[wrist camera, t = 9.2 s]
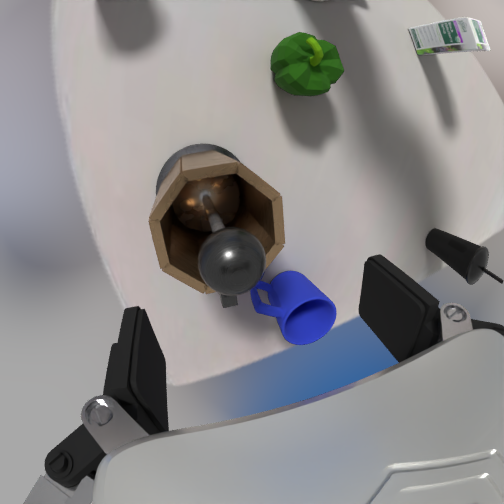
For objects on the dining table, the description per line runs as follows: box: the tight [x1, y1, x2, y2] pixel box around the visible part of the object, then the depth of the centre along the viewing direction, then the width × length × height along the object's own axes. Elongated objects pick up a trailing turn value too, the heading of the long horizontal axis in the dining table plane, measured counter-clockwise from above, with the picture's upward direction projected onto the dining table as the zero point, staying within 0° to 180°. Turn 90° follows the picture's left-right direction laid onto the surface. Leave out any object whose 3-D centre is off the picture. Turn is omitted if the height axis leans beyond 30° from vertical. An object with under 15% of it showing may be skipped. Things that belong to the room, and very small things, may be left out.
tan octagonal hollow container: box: [149, 144, 285, 308], centre depth 29 cm, size 12×14×18 cm
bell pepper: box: [271, 32, 344, 96], centre depth 28 cm, size 8×8×10 cm
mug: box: [250, 271, 336, 345], centre depth 41 cm, size 8×12×10 cm
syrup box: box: [408, 17, 491, 55], centre depth 27 cm, size 6×6×14 cm
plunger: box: [172, 174, 266, 296], centre depth 23 cm, size 8×8×19 cm
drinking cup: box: [426, 228, 503, 285], centre depth 42 cm, size 8×8×20 cm
